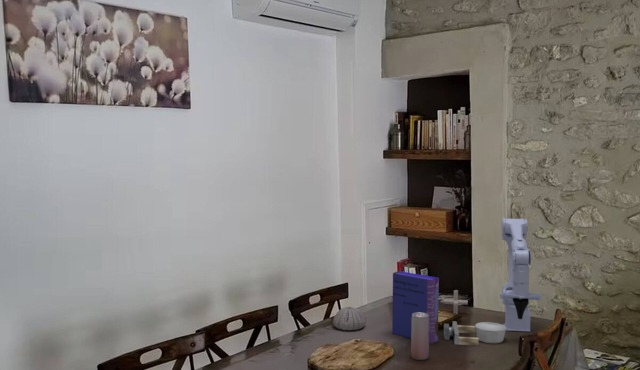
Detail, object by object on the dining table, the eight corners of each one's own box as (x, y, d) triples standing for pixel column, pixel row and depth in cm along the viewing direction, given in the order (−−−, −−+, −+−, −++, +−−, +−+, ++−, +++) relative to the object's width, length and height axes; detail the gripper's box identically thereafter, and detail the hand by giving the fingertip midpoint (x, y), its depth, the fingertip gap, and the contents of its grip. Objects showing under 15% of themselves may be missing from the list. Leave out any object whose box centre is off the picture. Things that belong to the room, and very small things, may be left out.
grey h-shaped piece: (456, 331, 240) (456, 320, 240) (458, 344, 224) (459, 332, 224) (443, 330, 241) (443, 319, 241) (444, 343, 225) (445, 332, 225)
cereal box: (437, 340, 229) (438, 277, 227) (430, 344, 225) (431, 279, 224) (399, 331, 241) (400, 270, 239) (392, 333, 237) (392, 272, 235)
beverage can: (409, 354, 214) (409, 312, 213) (426, 354, 214) (426, 312, 213) (413, 360, 208) (413, 317, 207) (430, 360, 208) (431, 316, 207)
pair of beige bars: (474, 332, 239) (474, 326, 239) (478, 345, 223) (478, 339, 223) (456, 331, 240) (456, 325, 240) (458, 344, 224) (458, 337, 224)
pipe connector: (467, 317, 260) (468, 294, 259) (443, 316, 262) (444, 292, 261) (467, 311, 269) (467, 288, 269) (443, 309, 271) (444, 287, 271)
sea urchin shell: (373, 328, 245) (373, 308, 244) (346, 334, 237) (347, 314, 236) (351, 320, 255) (351, 301, 255) (325, 326, 247) (325, 306, 247)
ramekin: (506, 337, 234) (506, 323, 233) (505, 346, 223) (505, 331, 223) (476, 334, 237) (476, 320, 237) (473, 342, 227) (473, 328, 226)
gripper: (501, 283, 224) (501, 320, 225) (543, 285, 222) (542, 322, 223) (499, 279, 231) (498, 315, 232) (539, 281, 229) (538, 317, 230)
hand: (519, 318), depth 228 cm, fingers closed
